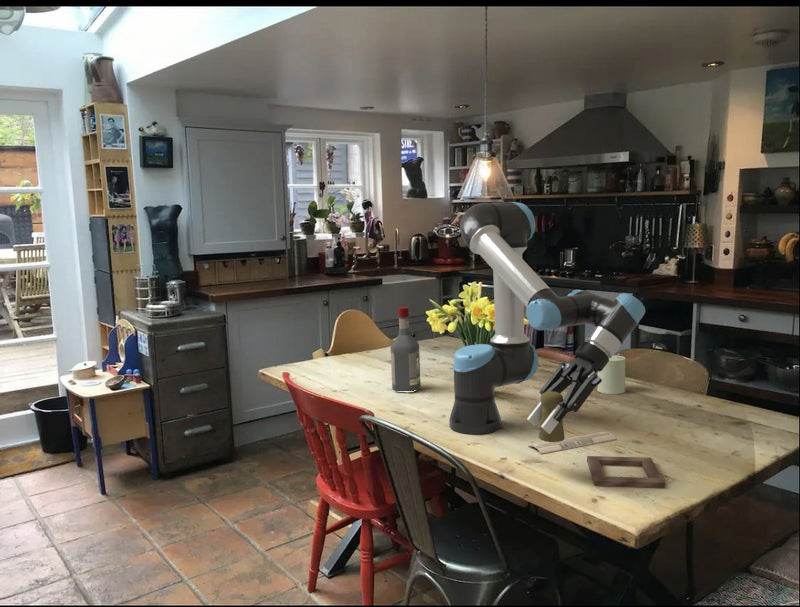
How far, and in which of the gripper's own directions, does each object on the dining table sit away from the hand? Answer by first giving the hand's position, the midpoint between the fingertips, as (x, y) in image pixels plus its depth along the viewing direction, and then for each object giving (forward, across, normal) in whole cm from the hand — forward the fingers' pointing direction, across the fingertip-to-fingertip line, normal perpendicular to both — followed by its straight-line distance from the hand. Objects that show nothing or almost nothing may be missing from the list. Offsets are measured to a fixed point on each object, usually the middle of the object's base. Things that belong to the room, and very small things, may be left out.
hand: (538, 426), depth 149 cm
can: (-35, +49, -53) cm, 80 cm away
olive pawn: (0, 0, -5) cm, 5 cm away
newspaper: (-5, +13, -23) cm, 27 cm away
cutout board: (-4, -9, -21) cm, 23 cm away
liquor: (+9, +85, -11) cm, 87 cm away
